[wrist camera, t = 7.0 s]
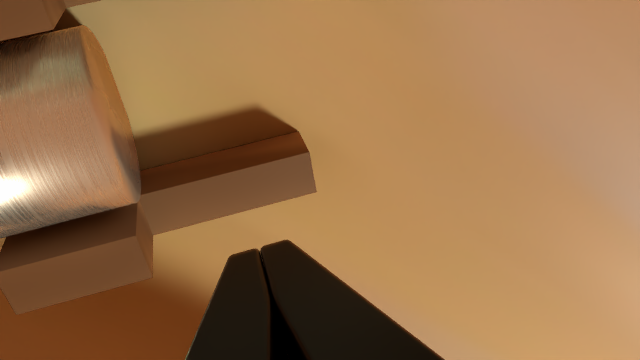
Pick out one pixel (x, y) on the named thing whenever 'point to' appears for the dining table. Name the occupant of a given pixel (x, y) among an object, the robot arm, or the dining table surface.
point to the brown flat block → (138, 203)
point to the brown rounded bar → (61, 132)
